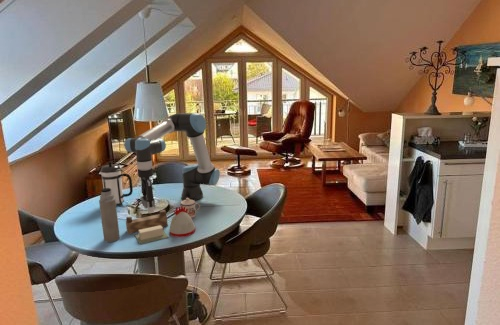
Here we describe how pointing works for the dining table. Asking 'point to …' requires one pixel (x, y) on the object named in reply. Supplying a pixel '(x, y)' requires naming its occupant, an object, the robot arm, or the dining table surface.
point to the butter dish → (151, 234)
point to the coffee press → (115, 181)
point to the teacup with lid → (190, 207)
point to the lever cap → (144, 203)
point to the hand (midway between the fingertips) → (148, 209)
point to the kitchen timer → (181, 223)
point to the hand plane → (146, 222)
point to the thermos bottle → (109, 216)
